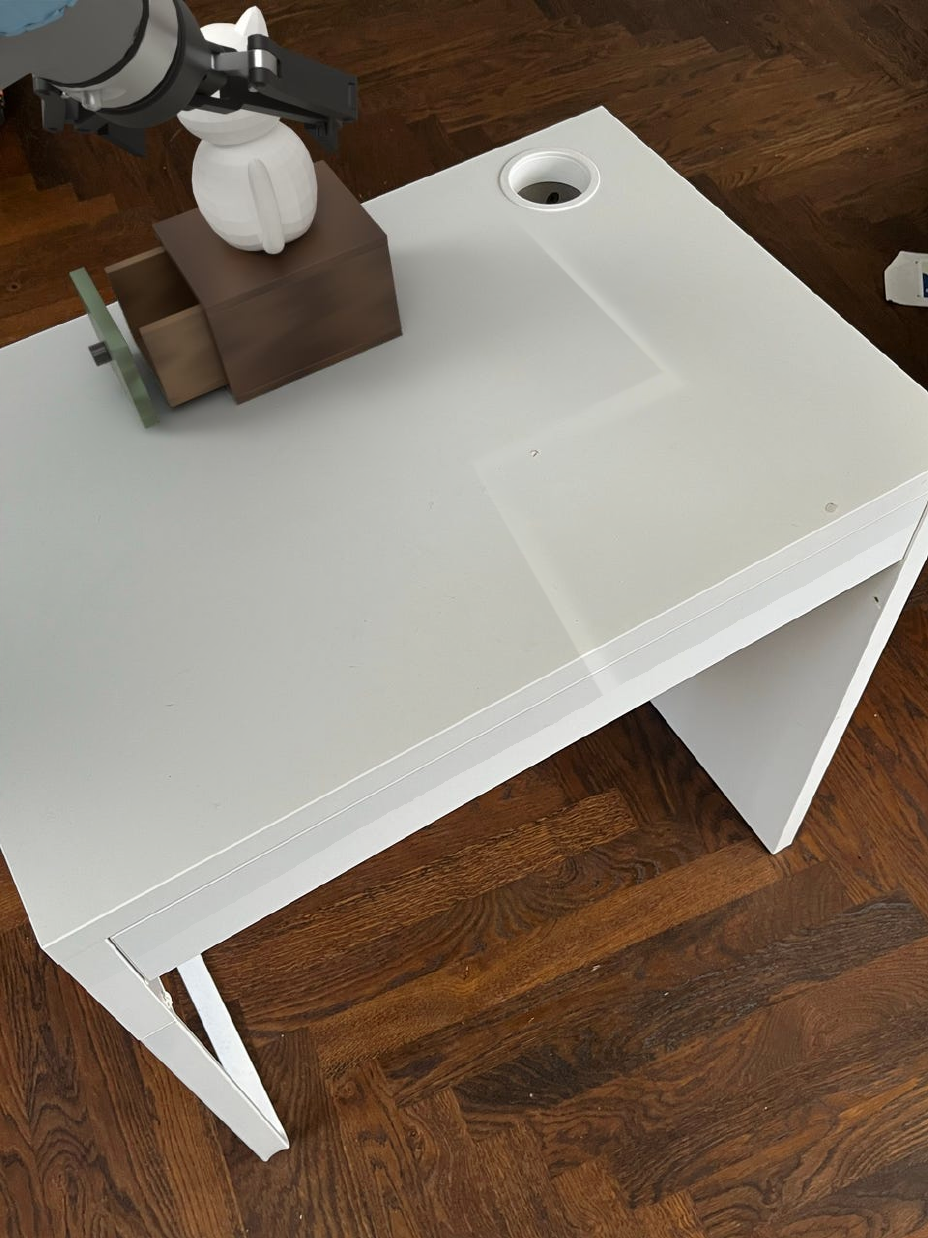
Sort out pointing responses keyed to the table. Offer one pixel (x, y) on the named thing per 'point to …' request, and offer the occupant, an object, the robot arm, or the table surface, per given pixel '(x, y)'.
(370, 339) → the cabinet
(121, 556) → the table surface
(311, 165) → the cat figurine
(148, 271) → the drawer
